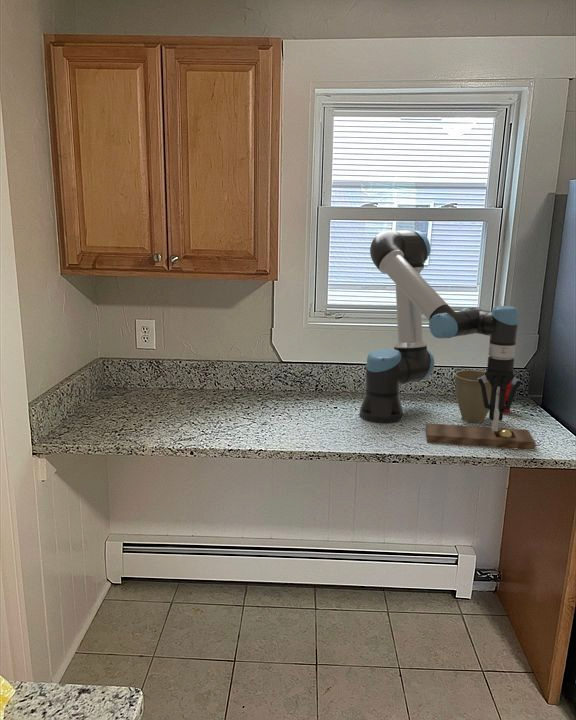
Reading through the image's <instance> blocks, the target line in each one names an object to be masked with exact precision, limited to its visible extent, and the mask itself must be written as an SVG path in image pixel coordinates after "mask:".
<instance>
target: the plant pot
mask: <svg viewBox="0 0 576 720" xmlns="http://www.w3.org/2000/svg"><path fill="white" fill-rule="evenodd" d="M485 373H486V371H483V370H473V369H472V370H471V369H469V370H468V369H466V370H465V369H464V370H458V371H456V372H454V384H455V394H456V398H457V399H456V400H457V403H458V408H459V412H460V415H461V419H462V420H464V421H465V422H468V423H483V422H484V421H485V419H486V417H487V415H489V411H490V410H489V409H486V408H485V406H484V402H483V397H482V391H481V385H480V383H479V382H478V379H477V378H478V377H482V376H484V375H485ZM484 384H485V387H486V393H487V398H488V404H490V397H491V384H490V383H489V381H488V380H487V379H486V383H484ZM497 388H498V387H497Z"/></svg>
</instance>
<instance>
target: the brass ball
mask: <svg viewBox="0 0 576 720" xmlns="http://www.w3.org/2000/svg"><path fill="white" fill-rule="evenodd" d="M499 437H504V438H512V433H511V432H510V431H509V430H506V429H504V430H501V431H500V433H499Z"/></svg>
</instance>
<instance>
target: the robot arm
mask: <svg viewBox="0 0 576 720" xmlns="http://www.w3.org/2000/svg"><path fill="white" fill-rule="evenodd" d="M369 253H370V254H369V255H370V258H371V261H372V262H373V264H374V266H375V267H376V268H377V269H378V271H380V273H381V274H385V275H387V276H388V277H389V278H390V279H391V281H393V283H395V298H396V300H395V301H396V319H397V325H396V326H397V342H396V343H395V344H394V345H393V348H380V349H376V350H373V351H371V352H370V353H369V354H368V355H367V357H366V364H365V368H366V369H365V370H366V372H365V394H364V398H363V400H362V402H361V404H360V408H359V416H360V415H361V416H360V418H362V417H363V418H365V419H364V420H366V419H367V420H366V421H368V420H370V421H369V422H372V421H374V422H373V423H380V422H381V423H383V424H384V423H387V424H388V423H396V422H399V421H401V420H402V419H403V418H404V417H403V416H404V410H403V406H402V402H401V399H400V386H402V385H405V384H410V383H417V382H421V381H423V380H426V379H427V378H429V377H430V375H432V373H433V371H434V368H435V359H434V358H435V357H434V355H433V354H432V351H430V350H429V349H428V344H427V343H426V342H425V341H424V340H423V323H422V322H423V321H422V319H423V318H422V315H423V316H424V317H425V318H426V320H428V321H429V322H428V328H429V331H430V334H431V335H432V336H433V337H434V338H437V339H451V338H455V337H459V336H468V335H473V334H475V335H477V334H479V335H484V336H488V337H489V346H488V357H487V368H486V371H485V372H486V373H485V375H484V376H482V377H478V378H477V379H478V382H479V383H480V385H481V391H482V397H483V402H484V406H485V408H486V409H489V412H488V418H489V420H490V421H491V426H490V427H491V428H492V431H498V428H499V422H500V421H503V416H504V414H503V411H504V410H509V409H510V410H511V408H510V406H512V404H513V402H514V398H515V395H516V392H517V390H518V388H519V387H520V385H522V381H521V380H520V379H519V378H517V377H515V373H514V366H515V359H514V357H515V356H516V355H515V354H516V344H517V343H516V341H517V334H518V333H517V331H518V327H519V309H518V308H517V307H515V306H510V305H495V306H493V307H492V309H491V311H490V310H485V309H480V308H479V309H478V308H476V307H464V308H462V309H461V310H459V311H455V310H454V309H453V308H452V307H451V306H450V305H449V304H448V303H447V302H446V300H445V299H444V298H442V297H441V296H440V295H439V293H437V291H436V290H435V289H434V288H433V287H432V286H431V285H430V284H429V283H428V281H426V280H425V279H424V278H423V277H422V275H421V272H422V270H425V262H426V261H427V260H428V257H430V255H431V244H430V240H429V238H428V237H427V236H426V235H425V234H424V233H423V231H419V230H414V229H413V230H412V229H405V230H403V229H402V230H399V229H398V230H391V229H390V230H383V231H381V232H379V233H378V234H376V235H375V237H374V238H372V241H371V242H370V247H369ZM486 379H487V380H488V381H489V383H490V384H491V397H490V404H488V398H487V393H486V387H485V384H484V383H486ZM511 381H512V386H511V389H510V392H509V394H508V397H507V400H506V402H505V405H504V399H505V390H506V386H507V385H508V384H509V383H510V382H511ZM497 387H500V393H499V404H498V409H495V402H496V391H497ZM363 418H362V419H363Z"/></svg>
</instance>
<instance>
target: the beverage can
mask: <svg viewBox="0 0 576 720" xmlns="http://www.w3.org/2000/svg"><path fill="white" fill-rule="evenodd" d="M511 386H512V381H511V382H510V383H509V384H508V385H507V386H506V390H505V399H504V405H505V402H506V400H507V397H508V394H509V392H510V389H511ZM499 393H500V387H498V388H497V391H496V402H495V409H498V404H499ZM511 406H512V405H511ZM511 406H510V409H509V410H504V411H503V415H507V414H509V413H510V412H511Z"/></svg>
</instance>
